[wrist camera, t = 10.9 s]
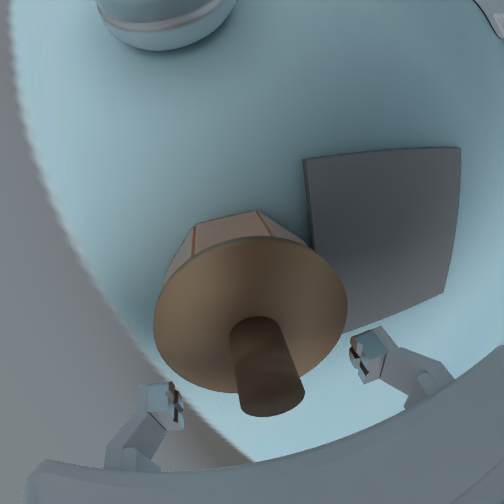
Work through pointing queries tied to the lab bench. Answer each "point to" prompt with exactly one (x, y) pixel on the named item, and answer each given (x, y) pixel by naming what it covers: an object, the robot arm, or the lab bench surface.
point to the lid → (251, 320)
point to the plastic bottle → (162, 21)
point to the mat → (385, 225)
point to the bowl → (227, 235)
